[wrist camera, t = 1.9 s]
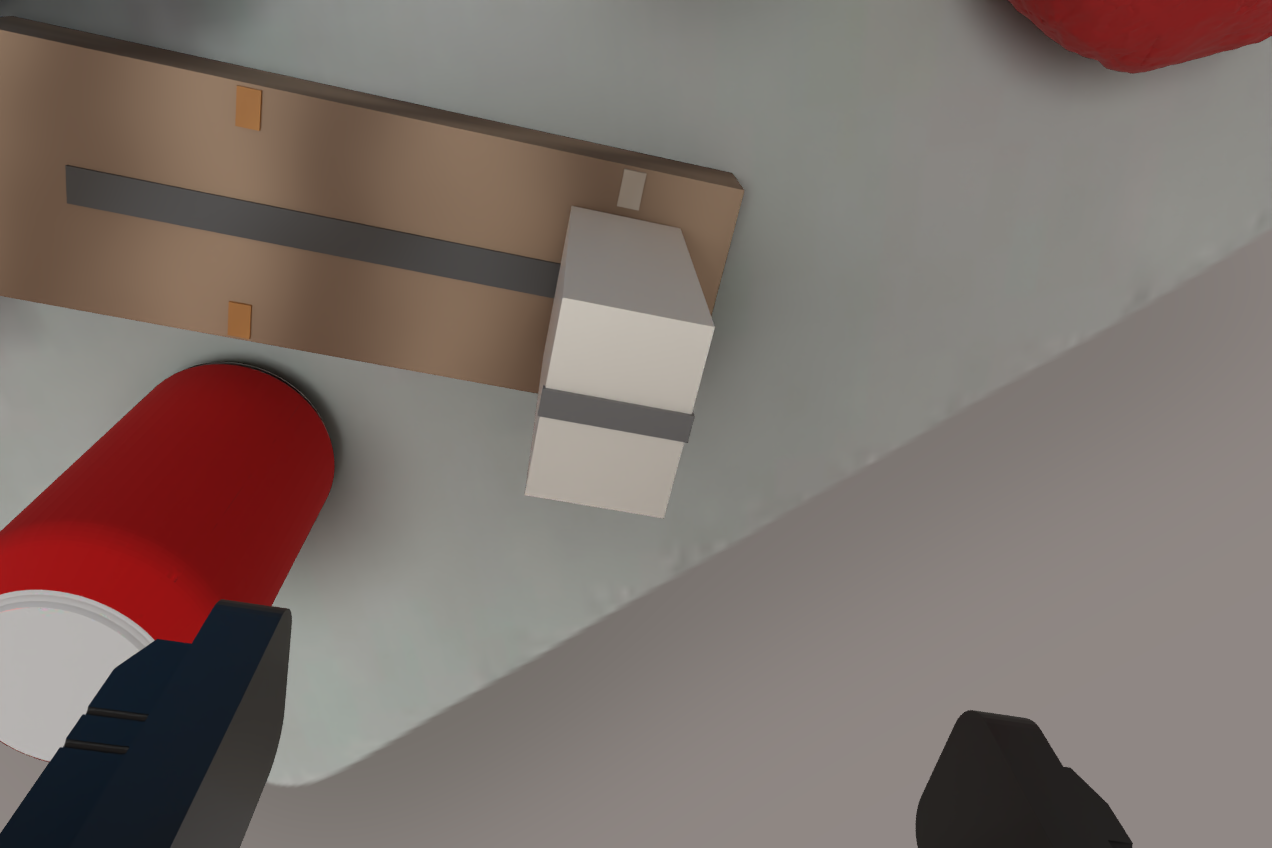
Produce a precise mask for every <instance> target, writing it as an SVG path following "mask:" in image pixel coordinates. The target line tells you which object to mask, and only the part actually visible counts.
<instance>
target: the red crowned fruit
mask: <svg viewBox="0 0 1272 848" xmlns="http://www.w3.org/2000/svg"><path fill="white" fill-rule="evenodd" d="M1008 1H1009V2H1010V3H1011V4H1013V6H1014V8H1015V9H1016V10H1017V11H1018V12H1020V13H1021V14H1023V15H1024V16H1025V17H1027V18H1028V19H1030V20H1031V21H1032V22H1033V23H1034V24H1035V25H1036V26H1037V27H1038V28H1039V29H1040V30H1042V31H1043V33H1044V34H1045V35H1046V36H1048V37H1049V38H1051V39H1052V40H1054V41H1055V42H1057V43H1058V44H1060V45H1061V46H1062V47H1064V48H1065V49H1066V50H1068V51H1071V52H1075V53H1077V54H1079V55H1081V56H1083V57H1086V58H1091V59H1095V60H1097V61H1099V62H1100V63H1101V64H1102V65H1103V66H1104V67H1105V68H1107V69H1111V70H1115V71H1120V72H1128V73H1140V72H1147V71H1151V70H1155V69H1157V68H1162V67H1166V66H1169V65H1174V64H1180V63H1183V62H1186V61H1190V60H1193V59H1198V58H1202V57H1206V56H1210V55H1213V54H1215V53H1219V52H1223V51H1229V50H1233V49H1237V48H1240V47H1242V46H1245V45H1249V44H1254V43H1259V42H1261V41H1263V40H1265V39H1266V38H1268V37H1270V36H1272V0H1008Z"/></svg>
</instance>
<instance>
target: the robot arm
mask: <svg viewBox="0 0 1272 848" xmlns="http://www.w3.org/2000/svg"><path fill="white" fill-rule="evenodd" d="M291 625H292V615H291V611H290V609H287V608H280V607H273V606H266V605H259V604H252V603H245V602H239V601H232V600H225V599H221V600H219V601H218V602H217V603H216V604H215V606H214V607H213V609H212V610H211V612H210V614H209V615H208V617H207V619H206V620H205V622H204V624H203V625H202V627H201V629H200V630H199V632H198V634H197V635H196V637H195V639H194V640H193V642H192V644H191V643H183V642H176V641H169V640H162V639H156V640H155V641H153V642H152V643H150V644H149V645H147V646H146V647H145V648H143V649H142V650H140V651H139V652H137V653H136V654H134V655H133V656H131V657H130V658H129V659H127V660H126V661H124V662H123V663H121V664H120V665H118V666H117V667H116V668H114V669H113V671H112V672H111V674H110V675H109V677H108V678H107V680H106V681H105V683H104V684H103V685H102V687H101V688H100V690H99V691H98V693H97V694H96V696H95V697H94V698H93V700H92V701H91V703H90V704H89V706H88V710H87V713H86V714H82V716H81V717H80V719H79V720H78V722H77V723H76V725H75V726H74V727H73V729H72V730H71V732H70V733H69V735H68V736H67V738H66V741H65V744H64V746H63V747H60V748H59V749H58V751H57V752H56V754H55V755H54V756H53V758H52V759H51V761H50V762H49V764H48V765H47V767H46V768H45V770H44V771H43V772H42V774H41V775H40V777H39V778H38V780H37V781H36V782H35V784H34V786H33V787H32V788H31V790H30V791H29V793H28V794H27V796H26V797H25V798H24V800H23V801H22V803H21V804H20V806H19V807H18V809H17V810H16V811H15V813H14V814H13V816H12V817H11V819H10V820H9V822H8V823H7V825H6V826H5V827H4V829H3V830H2V832H1V833H0V848H240V846H241V843H242V841H243V838H244V836H245V833H246V831H247V828H248V826H249V823H250V821H251V818H252V816H253V813H254V811H255V808H256V806H257V803H258V801H259V798H260V796H261V793H262V791H263V788H264V786H265V783H266V781H267V778H268V776H269V773H270V771H271V768H272V765H273V762H274V759H275V755H276V752H277V748H278V744H279V740H280V735H281V730H282V725H283V719H284V710H285V698H286V686H287V674H288V662H289V650H290V638H291ZM916 839H917V845H918V848H1132V844H1133V843H1132V841H1131V840H1130V838H1129V837H1128V835H1127V834H1126V832H1125V830H1124V829H1123V827H1122V826H1121V824H1120V823H1119V821H1118V819H1117V818H1116V816H1115V815H1114V813H1113V811H1112V810H1111V808H1110V807H1109V805H1108V804H1107V803H1106V802H1105V801H1104V800H1103V799H1102V798H1101V797H1100V796H1099V795H1098V794H1097V793H1096V792H1095V791H1094V790H1093V789H1092V788H1091V787H1090V786H1089V785H1088V784H1087V783H1086V782H1085V781H1084V780H1083V779H1082V778H1080V777H1079V776H1078V775H1077V774H1076V773H1075V772H1074V771H1073V770H1072V769H1071V768H1068V767H1063V766H1062V764H1061V763H1060V761H1059V759H1058V758H1057V756H1056V754H1055V753H1054V751H1053V749H1052V748H1051V746H1050V745H1049V743H1048V741H1047V739H1046V738H1045V736H1044V734H1043V733H1042V731H1041V730H1040V728H1039V727H1038V726H1037V724H1035V723H1034V722H1033V721H1032V720H1030V719H1027V718H1021V717H1014V716H1008V715H1001V714H994V713H986V712H980V711H973V710H970V711H966V712H964V713H963V714H962V715H961V716H960V717H959V718H958V720H957V722H956V724H955V725H954V728H953V730H952V732H951V734H950V736H949V738H948V741H947V742H946V745H945V747H944V749H943V751H942V753H941V755H940V757H939V760H938V762H937V764H936V766H935V768H934V771H933V772H932V775H931V777H930V780H929V781H928V783H927V785H926V788H925V790H924V792H923V794H922V796H921V799H920V801H919V805H918V809H917V815H916Z"/></svg>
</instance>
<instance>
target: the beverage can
mask: <svg viewBox="0 0 1272 848" xmlns="http://www.w3.org/2000/svg"><path fill="white" fill-rule="evenodd" d="M333 478H334V454H333V448H332V444H331V440H330V438H329V434H328V432H327V429H326V426H325V424H324V422H323V420H322V418H321V416H320V415H319V413H318V412H317V410H316V409H315V407H314V406H313V405H312V404H311V402H310V401H309V400H308V399H307V398H306V397H305V396H304V395H303V394H302V393H301V392H300V391H299V390H298V389H296V388H295V387H294V386H293V385H291V384H290V383H288V382H287V381H285V380H284V379H282V378H280V377H279V376H277V375H275V374H273V373H271V372H269V371H266V370H263V369H261V368H258V367H254V366H251V365H247V364H241V363H233V362H214V363H206V364H201V365H197V366H194V367H191V368H188V369H186V370H183V371H181V372H178V373H176V374H174V375H172V376H170V377H169V378H167V379H165V380H164V381H163V382H161V383H160V384H159V385H157V386H156V387H155V388H154V389H153V390H152V391H151V392H150V393H149V394H148V395H147V396H146V397H144V398H143V399H142V400H141V401H140V402H139V403H138V404H137V405H136V406H135V407H134V408H133V409H132V410H130V411H129V412H128V413H127V414H126V415H125V416H124V417H123V418H122V419H121V420H120V421H119V422H118V423H116V424H115V425H114V426H113V427H112V428H111V429H110V430H109V431H108V432H107V433H106V434H105V435H104V436H103V437H101V438H100V439H99V440H98V441H97V442H96V443H95V444H94V445H93V446H92V447H91V448H90V449H89V450H87V451H86V452H85V453H84V454H83V455H82V456H81V457H80V458H79V459H78V460H77V461H76V462H75V463H73V464H72V465H71V466H70V467H69V468H68V469H67V470H66V471H65V472H64V473H63V474H62V475H61V476H60V477H58V478H57V479H56V480H55V481H54V482H53V483H52V484H51V485H50V486H49V487H48V488H47V489H46V490H44V491H43V492H42V493H41V494H40V495H39V496H38V497H37V498H36V499H35V500H34V501H33V502H32V503H31V504H29V505H28V506H27V507H26V508H25V509H24V510H23V511H22V512H21V513H20V514H19V515H18V516H17V517H15V518H14V519H13V520H12V521H11V522H10V523H9V524H8V525H7V526H6V527H5V528H4V529H3V530H1V531H0V742H2V743H4V744H5V745H7V746H9V747H11V748H13V749H15V750H17V751H19V752H21V753H23V754H26V755H28V756H31V757H34V758H36V759H39V760H43V761H46V762H50V761H51V759H52V758H53V756H54V755H55V754H56V752H57V751H58V749H59V748H60V747H63V746H64V744H65V741H66V738H67V736H68V735H69V733H70V732H71V730H72V729H73V727H74V726H75V725H76V723H77V722H78V720H79V719H80V717H81V716H82V714H86V713H87V710H88V706H89V704H90V703H91V701H92V700H93V698H94V697H95V696H96V694H97V693H98V691H99V690H100V688H101V687H102V685H103V684H104V683H105V681H106V680H107V678H108V677H109V675H110V674H111V672H112V671H113V669H114V668H116V667H117V666H118V665H120V664H121V663H123V662H124V661H126V660H127V659H129V658H130V657H131V656H133V655H134V654H136V653H137V652H139V651H140V650H142V649H143V648H145V647H146V646H147V645H149V644H150V643H152V642H153V641H155V640H156V639H162V640H169V641H176V642H183V643H191V644H192V642H193V640H194V639H195V637H196V635H197V634H198V632H199V630H200V629H201V627H202V625H203V624H204V622H205V620H206V619H207V617H208V615H209V614H210V612H211V610H212V609H213V607H214V606H215V604H216V603H217V602H218V601H219V600H221V599H225V600H232V601H239V602H245V603H252V604H259V605H266V606H272V604H273V602H274V600H275V598H276V596H277V594H278V592H279V590H280V588H281V586H282V584H283V582H284V580H285V579H286V577H287V575H288V573H289V571H290V569H291V567H292V565H293V563H294V561H295V559H296V557H297V555H298V553H299V551H300V549H301V547H302V545H303V544H304V542H305V540H306V538H307V536H308V534H309V532H310V530H311V528H312V526H313V524H314V522H315V520H316V518H317V516H318V514H319V512H320V510H321V509H322V507H323V505H324V503H325V501H326V499H327V497H328V495H329V492H330V489H331V486H332V482H333Z"/></svg>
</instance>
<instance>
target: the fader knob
mask: <svg viewBox="0 0 1272 848" xmlns="http://www.w3.org/2000/svg"><path fill="white" fill-rule="evenodd" d="M714 329H715V326H714V323H713V320H712V317H711V315H710V312H709V309H708V306H707V303H706V300H705V297H704V294H703V292H702V289H701V286H700V283H699V280H698V277H697V274H696V272H695V269H694V266H693V263H692V260H691V257H690V254H689V251H688V249H687V246H686V243H685V240H684V237H683V234H682V231H681V229H680V228H676V227H671V226H666V225H661V224H657V223H652V222H647V221H642V220H637V219H633V218H628V217H623V216H618V215H613V214H609V213H604V212H599V211H594V210H589V209H585V208H580V207H575V206H571V212H570V217H569V222H568V228H567V233H566V238H565V244H564V249H563V254H562V260H561V265H560V270H559V275H558V281H557V286H556V291H555V297H554V302H553V307H552V313H551V318H550V323H549V328H548V334H547V339H546V344H545V350H544V355H543V362H542V369H541V377H540V384H539V392H538V399H537V407H536V414H535V422H534V429H533V437H532V444H531V452H530V459H529V467H528V474H527V482H526V489H525V495H526V496H532V497H538V498H544V499H550V500H556V501H562V502H568V503H574V504H580V505H586V506H592V507H598V508H604V509H610V510H616V511H622V512H628V513H634V514H640V515H646V516H652V517H658V518H664V516H665V512H666V509H667V505H668V501H669V498H670V494H671V490H672V486H673V483H674V479H675V475H676V471H677V468H678V464H679V460H680V456H681V453H682V449H683V445H684V442H685V443H688V439H689V436H690V432H691V428H692V425H693V421H694V413H692V411H693V408H694V404H695V400H696V396H697V393H698V389H699V385H700V381H701V378H702V374H703V370H704V366H705V363H706V359H707V355H708V351H709V348H710V344H711V340H712V336H713V333H714Z"/></svg>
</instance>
